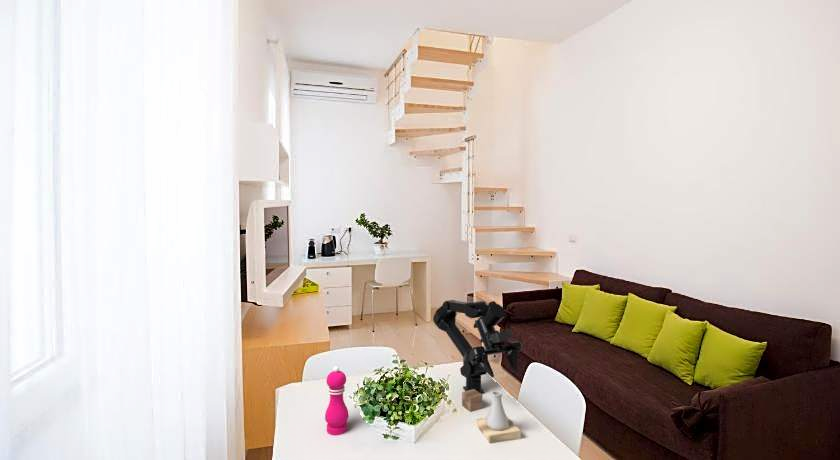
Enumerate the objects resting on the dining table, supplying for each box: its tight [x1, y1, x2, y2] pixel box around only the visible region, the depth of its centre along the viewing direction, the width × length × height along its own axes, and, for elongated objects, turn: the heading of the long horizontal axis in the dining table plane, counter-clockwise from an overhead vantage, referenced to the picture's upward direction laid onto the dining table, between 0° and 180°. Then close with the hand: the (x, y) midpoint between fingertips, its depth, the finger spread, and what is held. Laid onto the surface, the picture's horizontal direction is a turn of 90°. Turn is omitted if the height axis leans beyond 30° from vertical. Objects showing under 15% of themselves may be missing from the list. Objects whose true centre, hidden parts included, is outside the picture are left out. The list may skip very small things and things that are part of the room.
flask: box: [486, 390, 509, 430], centre depth 125 cm, size 7×7×10 cm
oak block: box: [476, 415, 522, 444], centre depth 125 cm, size 10×10×3 cm
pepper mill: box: [324, 365, 350, 436], centre depth 127 cm, size 7×7×20 cm
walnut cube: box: [461, 389, 483, 413], centre depth 141 cm, size 5×5×5 cm
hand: (505, 374), depth 135 cm, fingers open, 9 cm apart
